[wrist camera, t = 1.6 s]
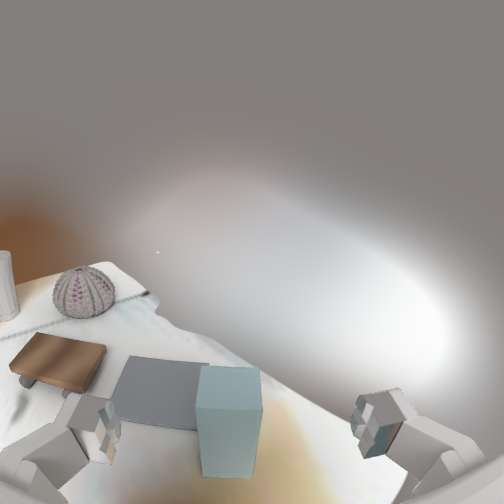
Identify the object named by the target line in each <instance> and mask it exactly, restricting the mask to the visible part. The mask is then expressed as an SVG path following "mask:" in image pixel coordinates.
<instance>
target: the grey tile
mask: <svg viewBox="0 0 504 504" xmlns="http://www.w3.org/2000/svg"><path fill="white" fill-rule="evenodd" d="M201 365H204V366H209V363H195V362H183V361H172V360H162V359H153V358H145V357H137V356H129V358H128V361H127V363H126V365H125V367H124V369H123V372H122V374H121V376H120V379H119V381H118V383H117V385H116V388H115V390H114V392H113V395H112V397H111V399H110V400H112V401H113V404H114V406H115V408H114V411H113V412H114V413H115V414H116V415H118V417H119V419H120V420H125V421H130V422H136V423H142V424H148V425H155V426H162V427H170V428H179V429H188V430H197V422H196V411H195V405H196V398H197V391H198V384H199V377H200V371H201Z"/></svg>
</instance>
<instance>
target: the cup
mask: <svg viewBox="0 0 504 504" xmlns="http://www.w3.org/2000/svg"><path fill="white" fill-rule="evenodd" d="M19 312H20V309H19V305H18V301H17V296H16V290H15V284H14V278H13V271H12V263H11V254H10V252H9V251H0V321H8V320H11V319H13V318H15V317H16V316H17V315H18V314H19Z"/></svg>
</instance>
